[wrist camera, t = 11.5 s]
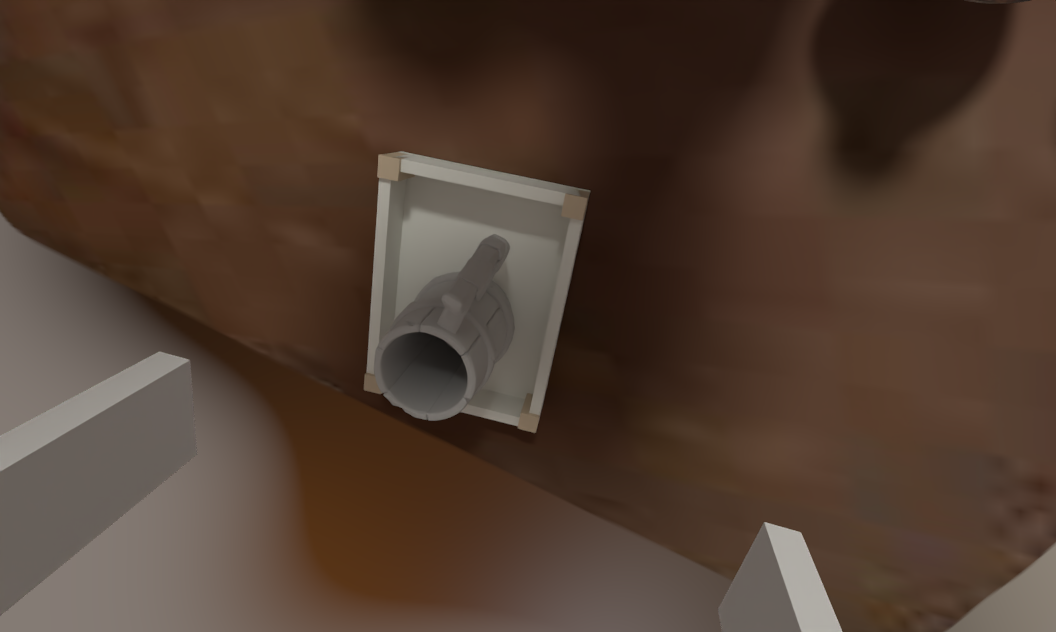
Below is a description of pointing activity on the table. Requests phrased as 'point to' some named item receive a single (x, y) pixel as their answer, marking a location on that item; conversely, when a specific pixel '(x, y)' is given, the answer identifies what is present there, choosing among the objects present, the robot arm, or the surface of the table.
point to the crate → (451, 240)
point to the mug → (448, 338)
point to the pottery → (997, 1)
